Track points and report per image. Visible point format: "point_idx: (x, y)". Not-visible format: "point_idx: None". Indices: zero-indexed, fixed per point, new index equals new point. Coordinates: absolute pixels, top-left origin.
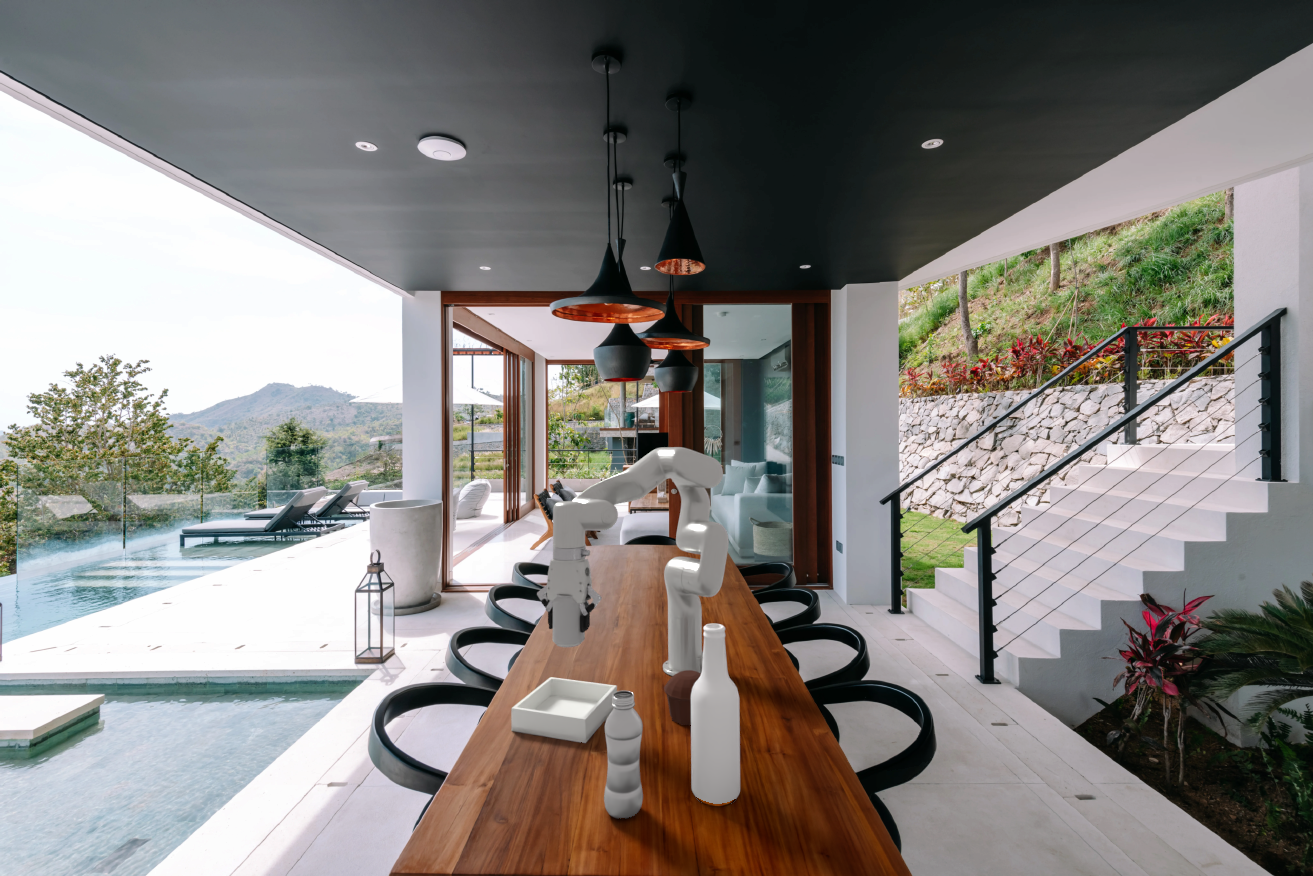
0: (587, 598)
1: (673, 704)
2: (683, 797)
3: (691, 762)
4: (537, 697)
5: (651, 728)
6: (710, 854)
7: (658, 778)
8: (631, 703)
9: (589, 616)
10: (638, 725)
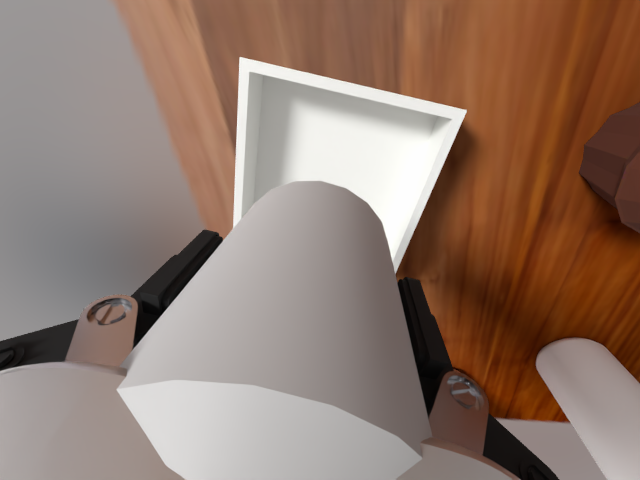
0: (484, 475)
1: (612, 198)
2: (520, 359)
3: (557, 394)
4: (250, 156)
5: (518, 207)
6: (521, 413)
7: (496, 331)
8: None
9: (448, 367)
10: None
